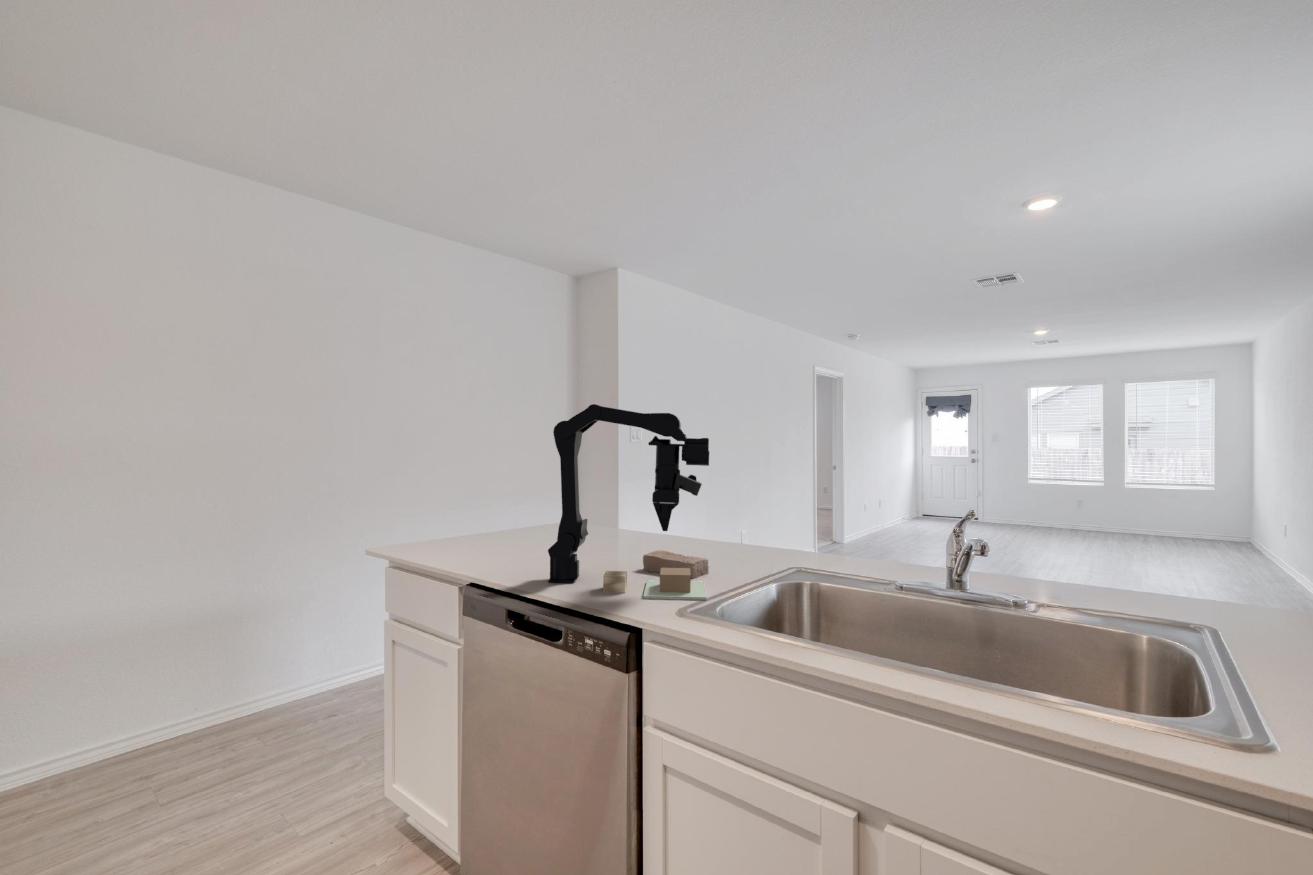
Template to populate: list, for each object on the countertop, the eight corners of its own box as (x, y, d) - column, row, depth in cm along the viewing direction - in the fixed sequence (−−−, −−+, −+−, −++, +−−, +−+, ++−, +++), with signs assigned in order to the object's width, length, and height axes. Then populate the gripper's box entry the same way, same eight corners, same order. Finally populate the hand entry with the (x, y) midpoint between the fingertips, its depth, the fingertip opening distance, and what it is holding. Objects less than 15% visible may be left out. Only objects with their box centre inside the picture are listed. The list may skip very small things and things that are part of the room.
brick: (710, 574, 154) (710, 556, 154) (693, 580, 147) (693, 561, 147) (659, 566, 164) (659, 549, 164) (641, 571, 157) (641, 553, 157)
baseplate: (643, 598, 129) (643, 577, 129) (647, 582, 143) (647, 564, 143) (706, 600, 128) (706, 579, 128) (703, 583, 142) (704, 565, 142)
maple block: (603, 593, 134) (603, 575, 134) (605, 587, 139) (606, 570, 139) (624, 593, 133) (624, 576, 133) (626, 587, 138) (626, 571, 138)
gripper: (701, 467, 133) (699, 535, 133) (698, 463, 151) (696, 523, 151) (653, 466, 133) (651, 533, 133) (656, 462, 152) (654, 521, 152)
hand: (665, 527), depth 142 cm, fingers open, 9 cm apart
